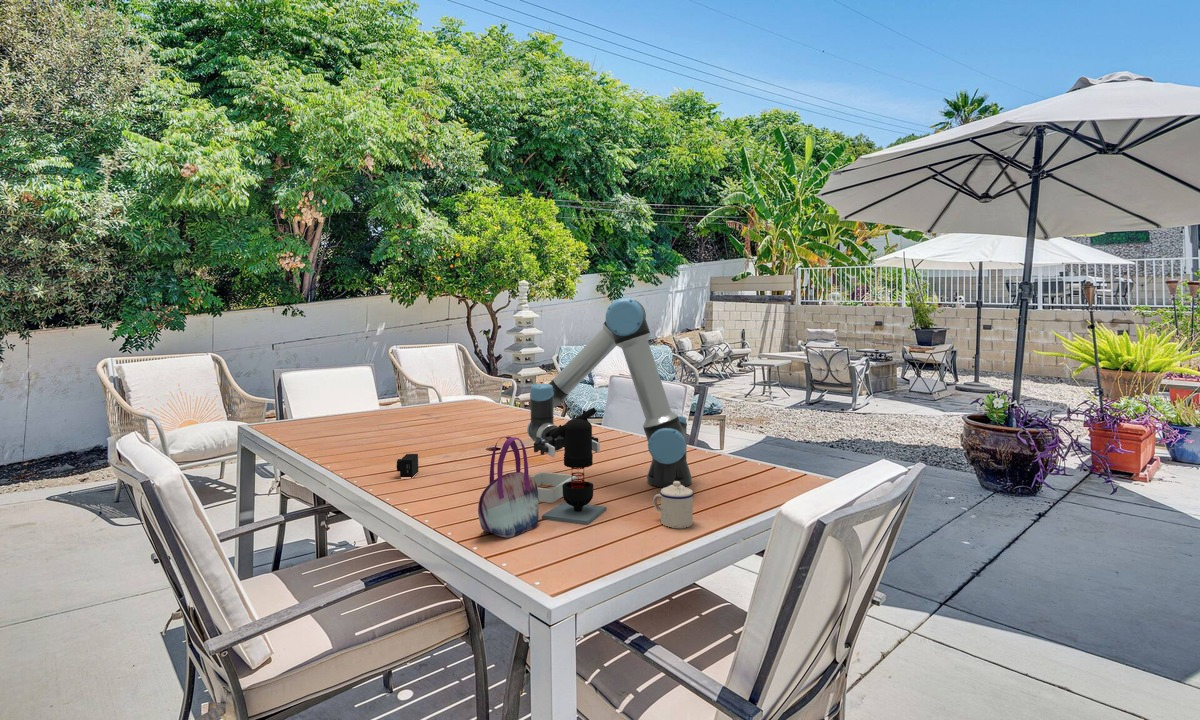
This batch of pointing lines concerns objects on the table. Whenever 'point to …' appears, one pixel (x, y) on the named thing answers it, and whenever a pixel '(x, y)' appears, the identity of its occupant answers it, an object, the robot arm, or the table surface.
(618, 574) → the table surface
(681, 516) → the teacup with lid
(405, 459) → the digital camera
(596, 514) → the slate mat
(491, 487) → the handbag
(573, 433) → the filter
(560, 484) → the white open rectangular box
